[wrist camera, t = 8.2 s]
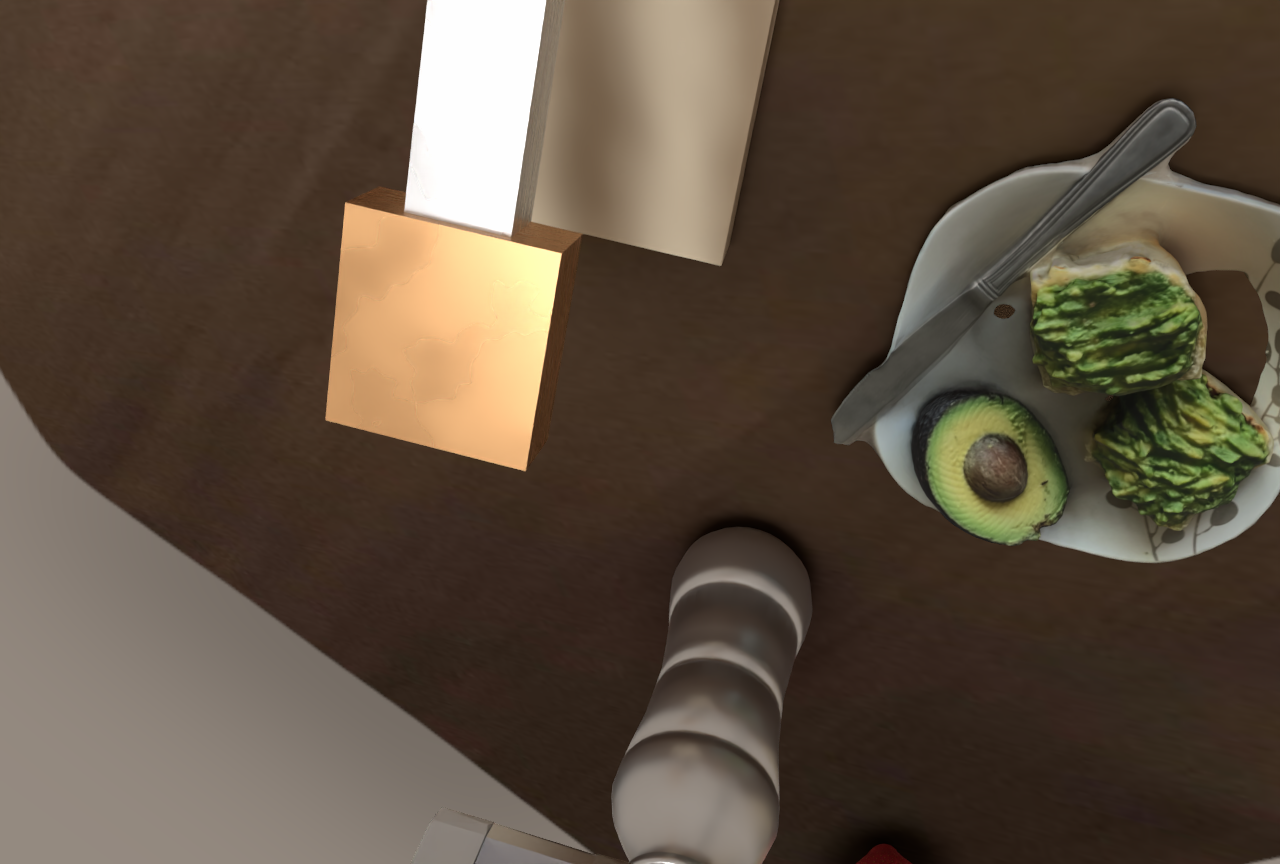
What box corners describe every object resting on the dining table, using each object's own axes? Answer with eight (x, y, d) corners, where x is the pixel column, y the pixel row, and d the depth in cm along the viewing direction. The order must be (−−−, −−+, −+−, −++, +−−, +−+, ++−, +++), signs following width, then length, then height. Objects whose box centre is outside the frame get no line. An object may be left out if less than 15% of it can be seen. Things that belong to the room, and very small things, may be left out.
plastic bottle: (770, 488, 56) (688, 848, 39) (844, 594, 58) (795, 974, 42) (655, 536, 59) (534, 888, 42) (730, 634, 61) (642, 1004, 45)
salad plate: (945, 33, 44) (942, 71, 40) (1459, 150, 42) (1507, 201, 38) (815, 462, 55) (803, 524, 51) (1218, 568, 53) (1236, 640, 49)
